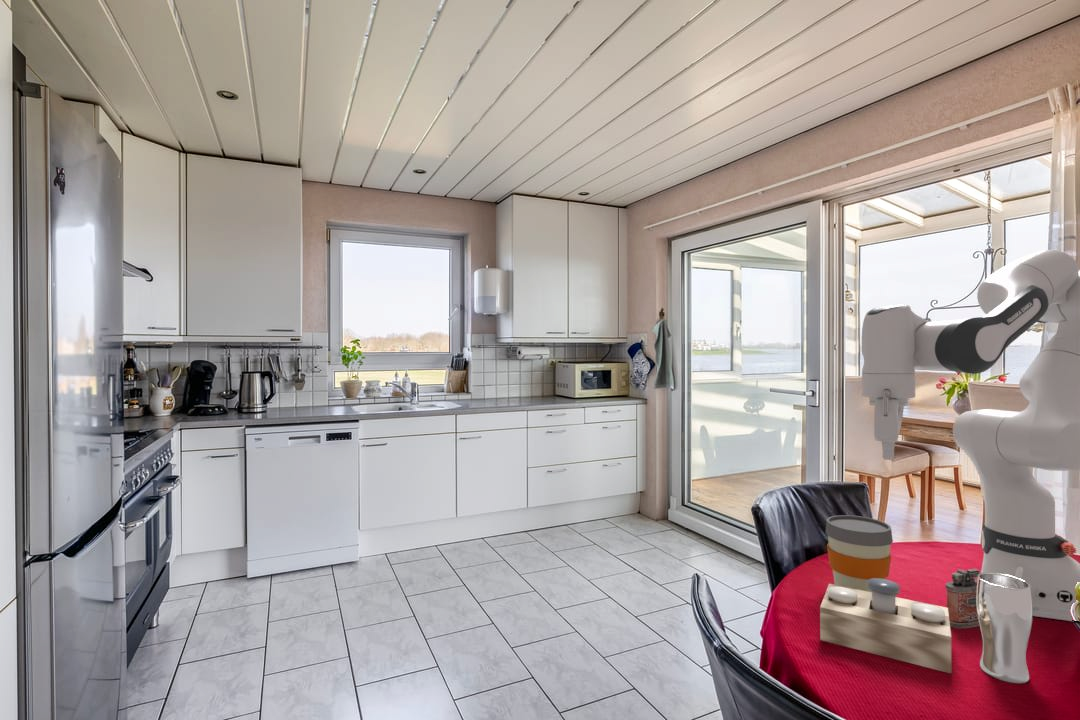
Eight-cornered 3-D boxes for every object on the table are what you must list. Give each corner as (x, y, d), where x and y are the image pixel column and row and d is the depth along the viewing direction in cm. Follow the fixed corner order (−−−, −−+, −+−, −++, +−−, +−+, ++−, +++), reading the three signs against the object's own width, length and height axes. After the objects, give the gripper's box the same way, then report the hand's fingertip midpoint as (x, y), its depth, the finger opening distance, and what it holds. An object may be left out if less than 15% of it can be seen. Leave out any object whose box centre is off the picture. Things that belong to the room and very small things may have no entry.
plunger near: (944, 646, 95) (944, 607, 95) (945, 659, 91) (945, 619, 91) (911, 638, 98) (911, 601, 98) (911, 650, 94) (910, 611, 94)
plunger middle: (900, 619, 99) (899, 581, 99) (899, 630, 95) (898, 591, 95) (869, 612, 102) (868, 576, 102) (867, 623, 98) (866, 585, 98)
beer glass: (976, 655, 93) (976, 568, 93) (1031, 670, 89) (1031, 578, 89) (976, 674, 88) (975, 581, 88) (1034, 691, 83) (1033, 593, 83)
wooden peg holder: (948, 640, 98) (947, 607, 98) (951, 673, 88) (951, 636, 88) (829, 613, 109) (829, 583, 109) (820, 640, 99) (820, 607, 99)
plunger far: (858, 626, 103) (858, 590, 103) (856, 637, 99) (856, 600, 99) (830, 619, 106) (829, 584, 106) (826, 630, 102) (826, 593, 102)
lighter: (958, 629, 102) (957, 576, 102) (940, 621, 105) (940, 569, 105) (990, 623, 104) (990, 571, 104) (972, 615, 107) (971, 564, 107)
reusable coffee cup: (890, 611, 109) (889, 537, 109) (821, 595, 117) (820, 525, 117) (895, 589, 119) (895, 521, 119) (831, 576, 127) (830, 511, 127)
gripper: (906, 391, 96) (906, 470, 97) (908, 385, 113) (908, 452, 113) (864, 391, 100) (865, 466, 100) (872, 384, 117) (873, 449, 117)
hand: (888, 458), depth 107 cm, fingers closed
